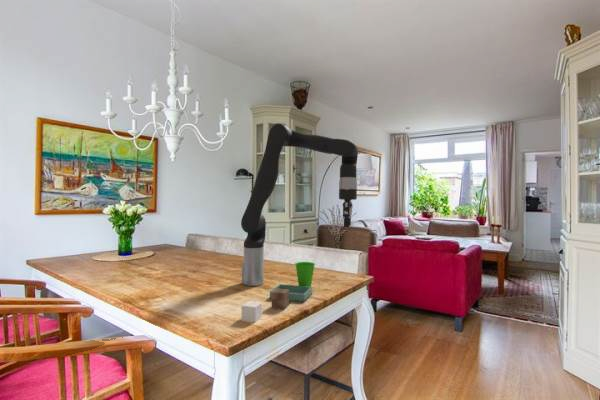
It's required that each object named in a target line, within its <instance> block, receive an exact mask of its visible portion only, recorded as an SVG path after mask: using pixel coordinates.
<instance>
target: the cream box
mask: <svg viewBox="0 0 600 400" xmlns="http://www.w3.org/2000/svg"><path fill="white" fill-rule="evenodd" d="M262 304H263V302H261V301H253V300H251V301H250V300H248V301H247V302H244V303H243V304H242V305H241V321H242V322H250V323H257V322H258V321H259V320H260V319H261V318H262V317H263V315H262V314H263V311H262V309H263V305H262Z"/></svg>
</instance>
